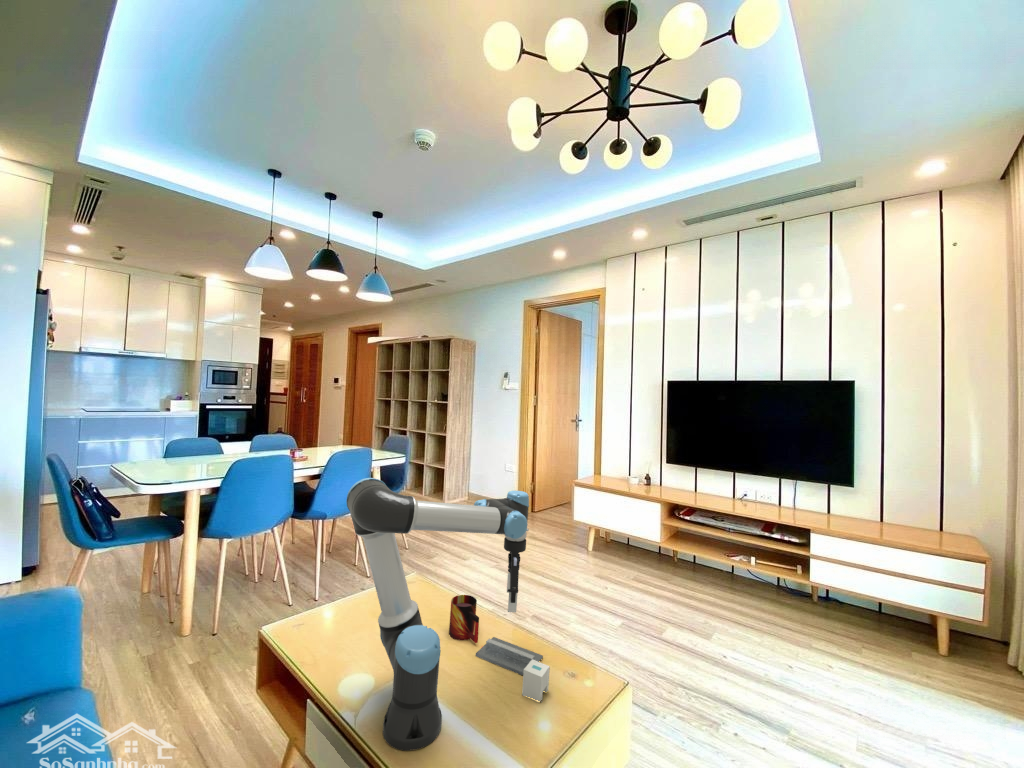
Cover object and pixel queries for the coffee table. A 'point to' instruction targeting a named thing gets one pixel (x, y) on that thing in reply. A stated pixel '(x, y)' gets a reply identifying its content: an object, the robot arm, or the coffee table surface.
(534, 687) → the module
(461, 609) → the mug
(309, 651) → the coffee table surface
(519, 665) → the rail plate
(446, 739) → the coffee table surface
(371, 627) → the coffee table surface
